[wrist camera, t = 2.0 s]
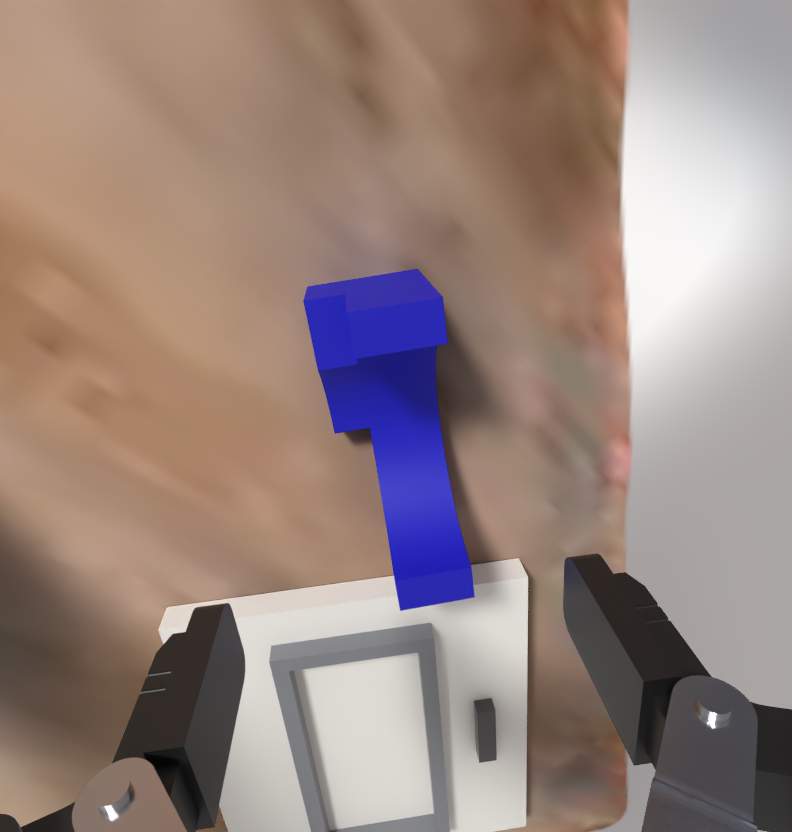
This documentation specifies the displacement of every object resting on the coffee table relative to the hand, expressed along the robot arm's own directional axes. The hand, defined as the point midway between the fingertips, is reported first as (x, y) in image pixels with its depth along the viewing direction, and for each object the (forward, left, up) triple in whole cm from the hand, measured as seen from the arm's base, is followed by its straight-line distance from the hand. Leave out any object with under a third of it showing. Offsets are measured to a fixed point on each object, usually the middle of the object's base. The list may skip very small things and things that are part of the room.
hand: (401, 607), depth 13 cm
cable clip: (+1, 0, -13) cm, 13 cm away
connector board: (-2, -19, -12) cm, 23 cm away
